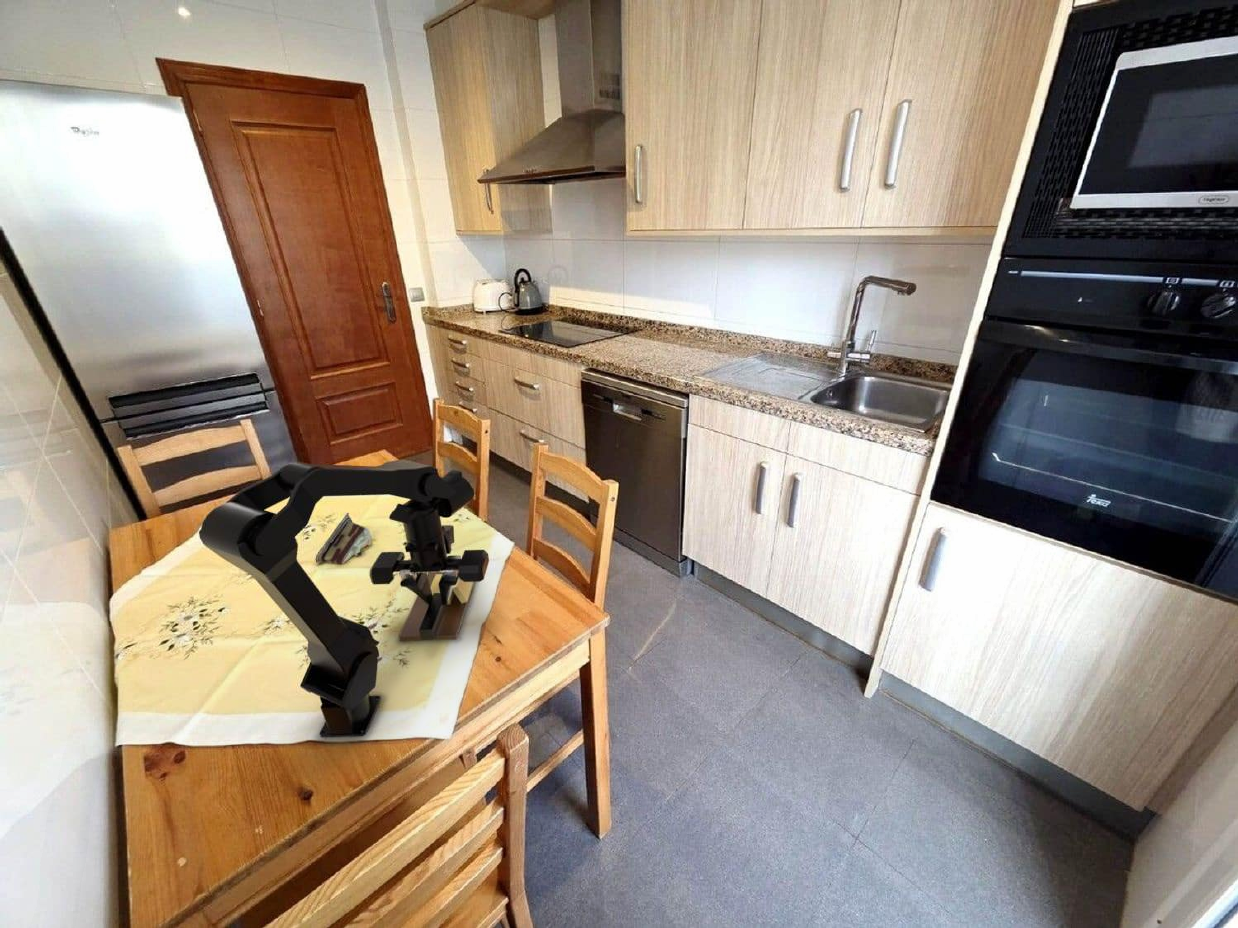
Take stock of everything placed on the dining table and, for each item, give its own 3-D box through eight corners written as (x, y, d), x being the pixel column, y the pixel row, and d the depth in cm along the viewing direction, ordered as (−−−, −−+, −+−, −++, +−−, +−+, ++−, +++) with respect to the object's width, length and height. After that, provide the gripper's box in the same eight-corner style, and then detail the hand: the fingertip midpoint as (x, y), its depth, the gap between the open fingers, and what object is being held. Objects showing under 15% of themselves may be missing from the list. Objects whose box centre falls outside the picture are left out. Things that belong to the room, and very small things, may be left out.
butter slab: (461, 603, 96) (467, 601, 96) (451, 588, 95) (457, 586, 94) (468, 583, 102) (473, 581, 102) (458, 568, 100) (464, 566, 100)
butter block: (450, 604, 96) (448, 594, 95) (429, 604, 96) (426, 594, 95) (457, 583, 101) (456, 573, 100) (437, 584, 101) (435, 574, 100)
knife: (435, 640, 84) (433, 629, 83) (420, 640, 84) (417, 630, 83) (463, 561, 103) (461, 552, 102) (450, 561, 103) (449, 552, 102)
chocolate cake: (342, 573, 106) (369, 520, 109) (311, 561, 106) (339, 509, 109) (362, 575, 115) (386, 526, 118) (333, 564, 116) (358, 516, 119)
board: (456, 639, 90) (455, 635, 89) (399, 641, 89) (398, 636, 89) (477, 574, 106) (476, 570, 105) (429, 575, 105) (428, 571, 105)
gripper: (489, 505, 91) (498, 573, 98) (384, 507, 90) (400, 576, 97) (477, 541, 81) (487, 614, 88) (358, 543, 80) (379, 617, 87)
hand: (438, 603), depth 90 cm, fingers closed on knife, 2 cm apart
